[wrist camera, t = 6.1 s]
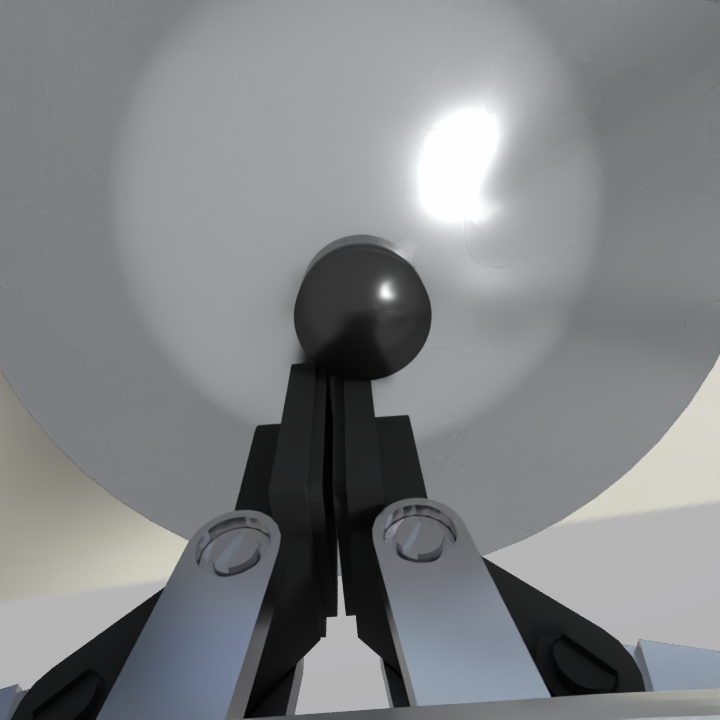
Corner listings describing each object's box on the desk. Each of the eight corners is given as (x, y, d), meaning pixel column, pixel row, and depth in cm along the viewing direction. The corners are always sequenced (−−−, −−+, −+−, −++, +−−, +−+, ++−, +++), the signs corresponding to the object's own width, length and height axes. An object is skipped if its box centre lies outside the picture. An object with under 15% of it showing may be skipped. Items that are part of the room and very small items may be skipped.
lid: (845, -262, 7) (1075, -444, 5) (643, 528, 14) (702, 607, 12) (-172, -200, 8) (-410, -351, 5) (105, 555, 14) (57, 639, 12)
